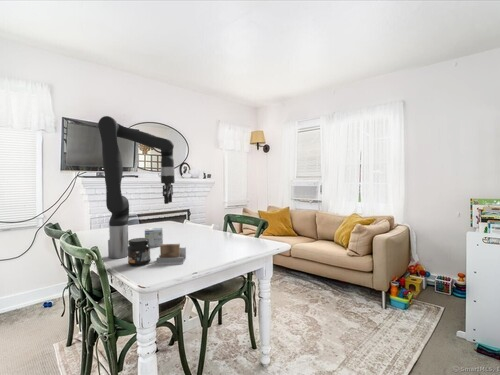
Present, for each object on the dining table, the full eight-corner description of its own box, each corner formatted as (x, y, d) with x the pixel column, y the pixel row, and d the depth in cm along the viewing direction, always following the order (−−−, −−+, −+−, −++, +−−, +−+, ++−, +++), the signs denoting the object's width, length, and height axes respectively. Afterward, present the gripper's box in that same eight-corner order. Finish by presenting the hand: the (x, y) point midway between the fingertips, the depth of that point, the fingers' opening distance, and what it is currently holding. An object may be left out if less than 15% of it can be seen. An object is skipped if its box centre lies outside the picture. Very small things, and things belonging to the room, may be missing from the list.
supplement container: (124, 263, 137) (124, 239, 136) (145, 259, 144) (144, 236, 144) (133, 268, 129) (132, 243, 129) (154, 263, 137) (153, 239, 136)
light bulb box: (162, 243, 178) (162, 227, 178) (163, 246, 172) (162, 229, 172) (145, 245, 175) (144, 228, 175) (144, 247, 169) (144, 230, 168)
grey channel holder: (156, 264, 134) (155, 252, 134) (161, 259, 143) (160, 247, 143) (182, 263, 135) (182, 251, 135) (186, 258, 144) (185, 247, 144)
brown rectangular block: (160, 261, 137) (160, 245, 137) (162, 259, 140) (161, 244, 139) (178, 260, 138) (178, 245, 137) (179, 259, 140) (179, 243, 140)
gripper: (164, 175, 165) (164, 202, 165) (157, 174, 151) (158, 204, 151) (176, 175, 165) (177, 202, 166) (171, 174, 151) (172, 204, 152)
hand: (168, 203), depth 159 cm, fingers open, 8 cm apart
